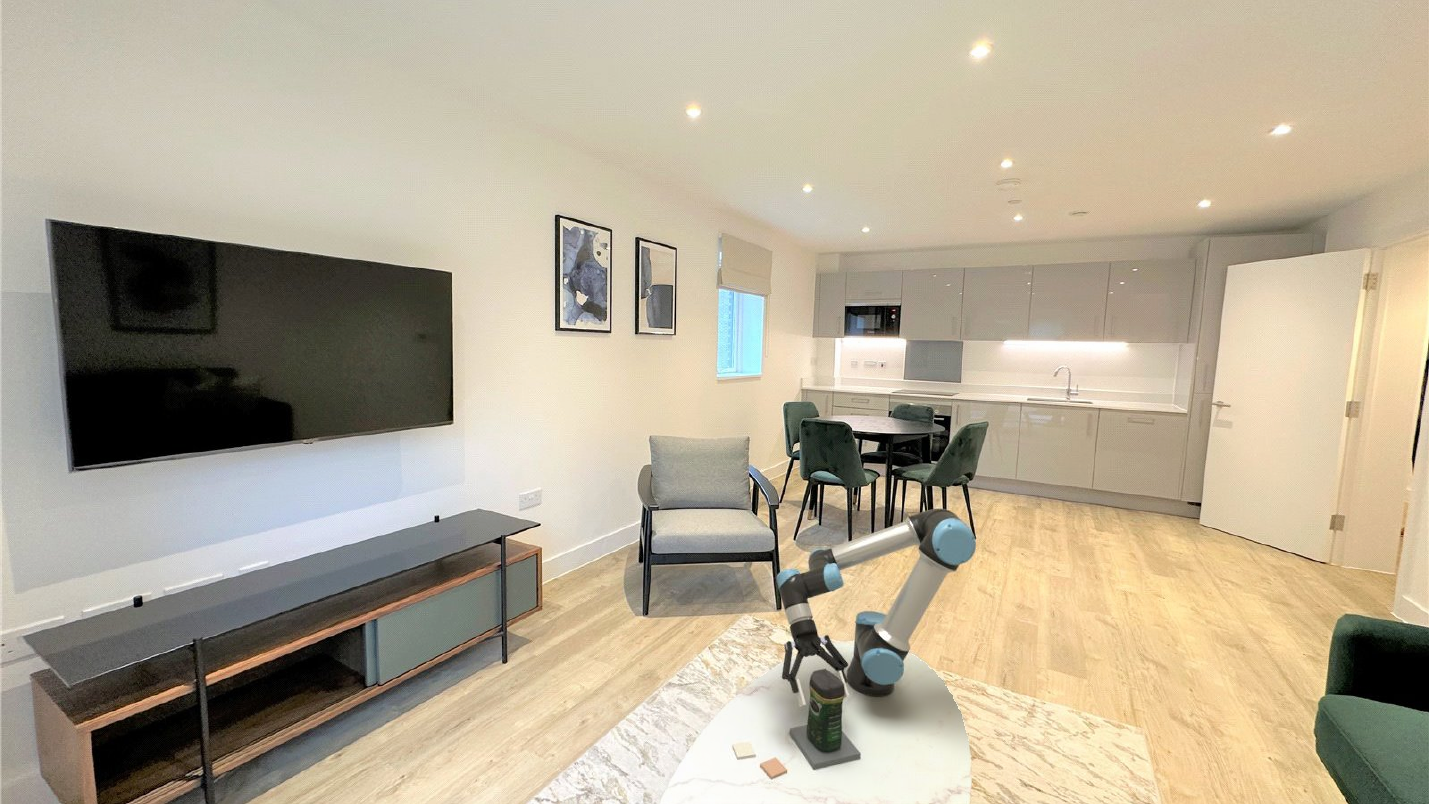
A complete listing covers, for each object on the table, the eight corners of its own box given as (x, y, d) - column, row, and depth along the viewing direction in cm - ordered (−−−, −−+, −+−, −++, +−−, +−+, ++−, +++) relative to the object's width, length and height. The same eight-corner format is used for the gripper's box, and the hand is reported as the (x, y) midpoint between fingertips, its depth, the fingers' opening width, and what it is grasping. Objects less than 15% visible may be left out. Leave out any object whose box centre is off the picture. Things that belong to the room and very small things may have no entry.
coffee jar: (846, 748, 148) (850, 683, 147) (821, 756, 145) (825, 689, 144) (825, 726, 157) (829, 664, 156) (801, 732, 154) (805, 669, 152)
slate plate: (832, 724, 160) (833, 719, 160) (860, 758, 147) (860, 753, 147) (789, 733, 156) (789, 728, 156) (813, 769, 143) (814, 764, 142)
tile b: (749, 745, 151) (750, 741, 151) (755, 758, 146) (755, 754, 146) (732, 748, 150) (732, 744, 150) (737, 761, 145) (737, 757, 145)
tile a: (775, 761, 146) (775, 757, 146) (787, 774, 141) (787, 770, 141) (759, 768, 143) (760, 763, 143) (771, 781, 139) (771, 776, 139)
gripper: (832, 621, 171) (856, 696, 158) (758, 632, 162) (778, 712, 150) (843, 612, 165) (869, 690, 153) (767, 623, 156) (789, 706, 144)
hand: (824, 701), depth 151 cm, fingers open, 13 cm apart
